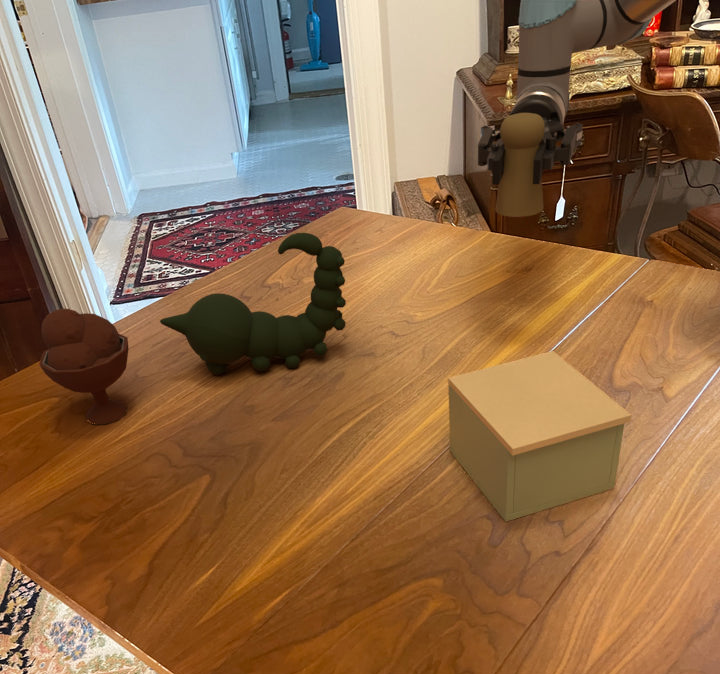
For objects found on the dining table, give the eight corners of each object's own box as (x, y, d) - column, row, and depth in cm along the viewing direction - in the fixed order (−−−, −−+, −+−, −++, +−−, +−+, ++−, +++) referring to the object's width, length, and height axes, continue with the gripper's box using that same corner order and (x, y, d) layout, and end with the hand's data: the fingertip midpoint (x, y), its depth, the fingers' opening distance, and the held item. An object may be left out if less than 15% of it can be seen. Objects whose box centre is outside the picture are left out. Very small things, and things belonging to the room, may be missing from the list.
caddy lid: (630, 421, 70) (631, 414, 70) (512, 455, 68) (512, 448, 67) (552, 356, 81) (552, 350, 81) (448, 384, 79) (447, 377, 78)
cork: (512, 198, 97) (515, 106, 90) (552, 205, 93) (559, 110, 86) (485, 212, 93) (486, 118, 87) (526, 219, 90) (531, 122, 83)
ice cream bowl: (94, 446, 92) (52, 338, 83) (50, 418, 98) (7, 315, 89) (163, 408, 97) (131, 303, 88) (118, 384, 104) (83, 284, 95)
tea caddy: (614, 488, 76) (625, 417, 71) (505, 522, 74) (508, 451, 68) (547, 423, 87) (552, 357, 81) (449, 450, 84) (448, 384, 79)
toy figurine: (339, 346, 110) (170, 360, 107) (337, 219, 99) (147, 230, 96) (350, 376, 103) (168, 392, 100) (348, 242, 92) (143, 255, 88)
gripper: (596, 149, 103) (589, 204, 85) (474, 152, 108) (444, 205, 90) (602, 90, 98) (595, 135, 81) (474, 95, 103) (443, 140, 86)
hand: (516, 172), depth 86 cm, fingers closed on cork, 4 cm apart
